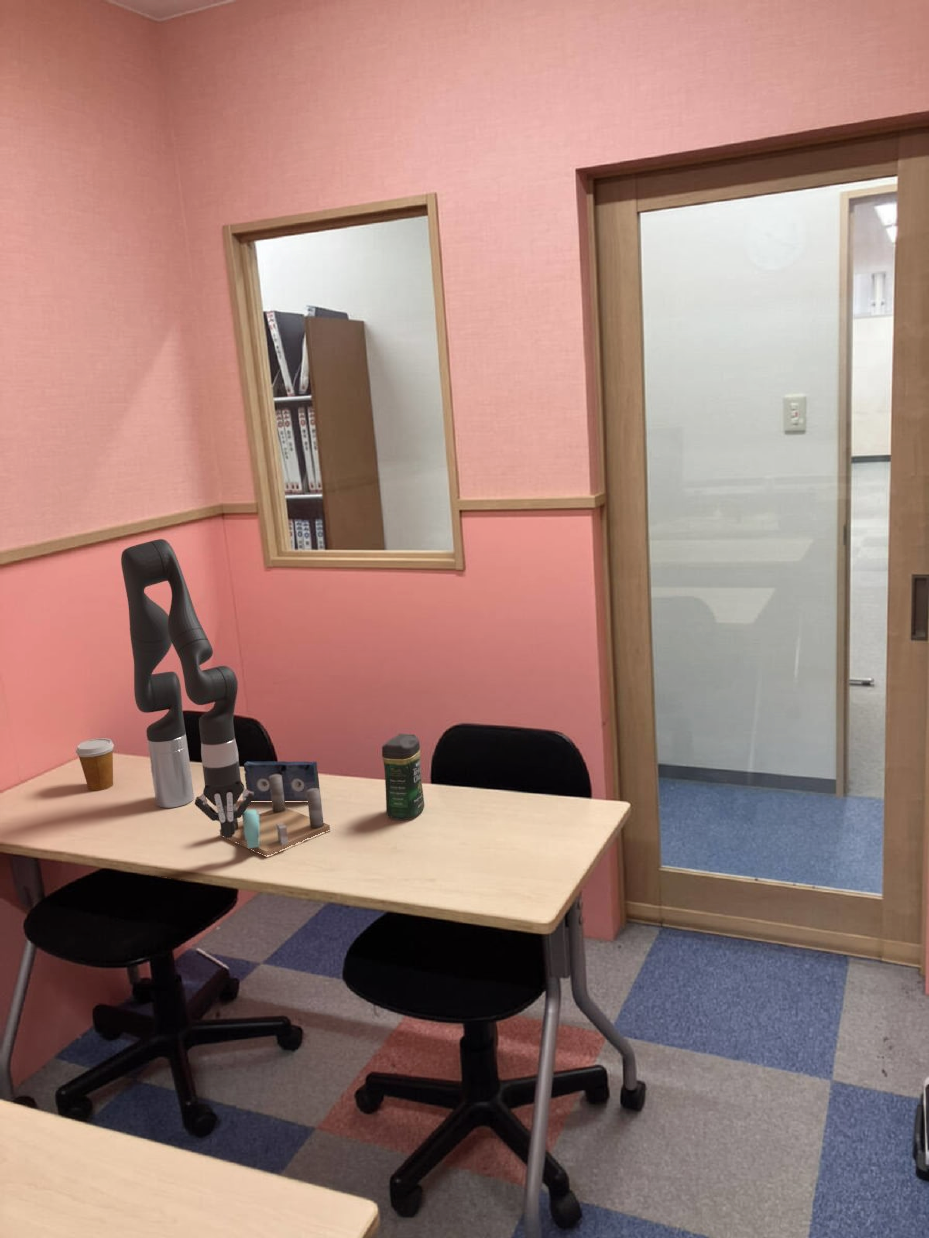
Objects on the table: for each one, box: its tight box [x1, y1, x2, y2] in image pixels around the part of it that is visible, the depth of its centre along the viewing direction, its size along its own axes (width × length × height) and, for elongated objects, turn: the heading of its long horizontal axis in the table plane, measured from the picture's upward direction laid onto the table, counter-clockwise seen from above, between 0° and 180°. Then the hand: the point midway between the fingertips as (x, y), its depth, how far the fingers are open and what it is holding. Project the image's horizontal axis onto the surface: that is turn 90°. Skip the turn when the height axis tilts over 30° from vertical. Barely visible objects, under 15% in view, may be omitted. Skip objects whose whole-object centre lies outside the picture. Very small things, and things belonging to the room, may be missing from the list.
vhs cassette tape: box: [243, 760, 321, 801], centre depth 248 cm, size 18×3×10 cm, turn 78°
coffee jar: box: [381, 733, 425, 821], centre depth 234 cm, size 10×8×19 cm
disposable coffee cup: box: [75, 737, 115, 792], centre depth 266 cm, size 10×10×12 cm
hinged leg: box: [241, 809, 260, 848], centre depth 224 cm, size 16×3×8 cm, turn 11°
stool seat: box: [219, 774, 331, 856], centre depth 228 cm, size 20×17×10 cm
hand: (229, 836), depth 217 cm, fingers closed
